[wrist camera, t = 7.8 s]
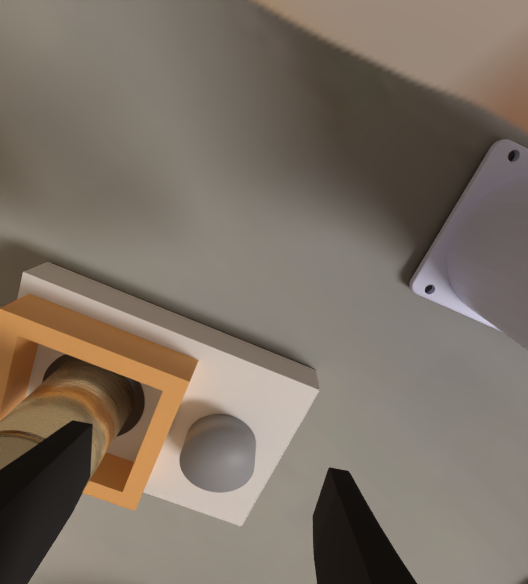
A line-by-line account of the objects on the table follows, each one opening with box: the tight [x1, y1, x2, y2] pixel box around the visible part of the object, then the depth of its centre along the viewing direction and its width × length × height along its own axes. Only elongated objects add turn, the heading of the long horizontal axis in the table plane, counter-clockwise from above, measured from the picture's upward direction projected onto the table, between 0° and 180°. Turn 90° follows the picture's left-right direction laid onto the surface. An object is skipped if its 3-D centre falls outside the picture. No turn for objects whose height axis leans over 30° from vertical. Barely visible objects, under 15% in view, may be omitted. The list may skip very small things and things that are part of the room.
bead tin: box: [0, 358, 134, 491], centre depth 16 cm, size 4×4×6 cm
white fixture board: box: [0, 262, 320, 526], centre depth 20 cm, size 16×11×4 cm
